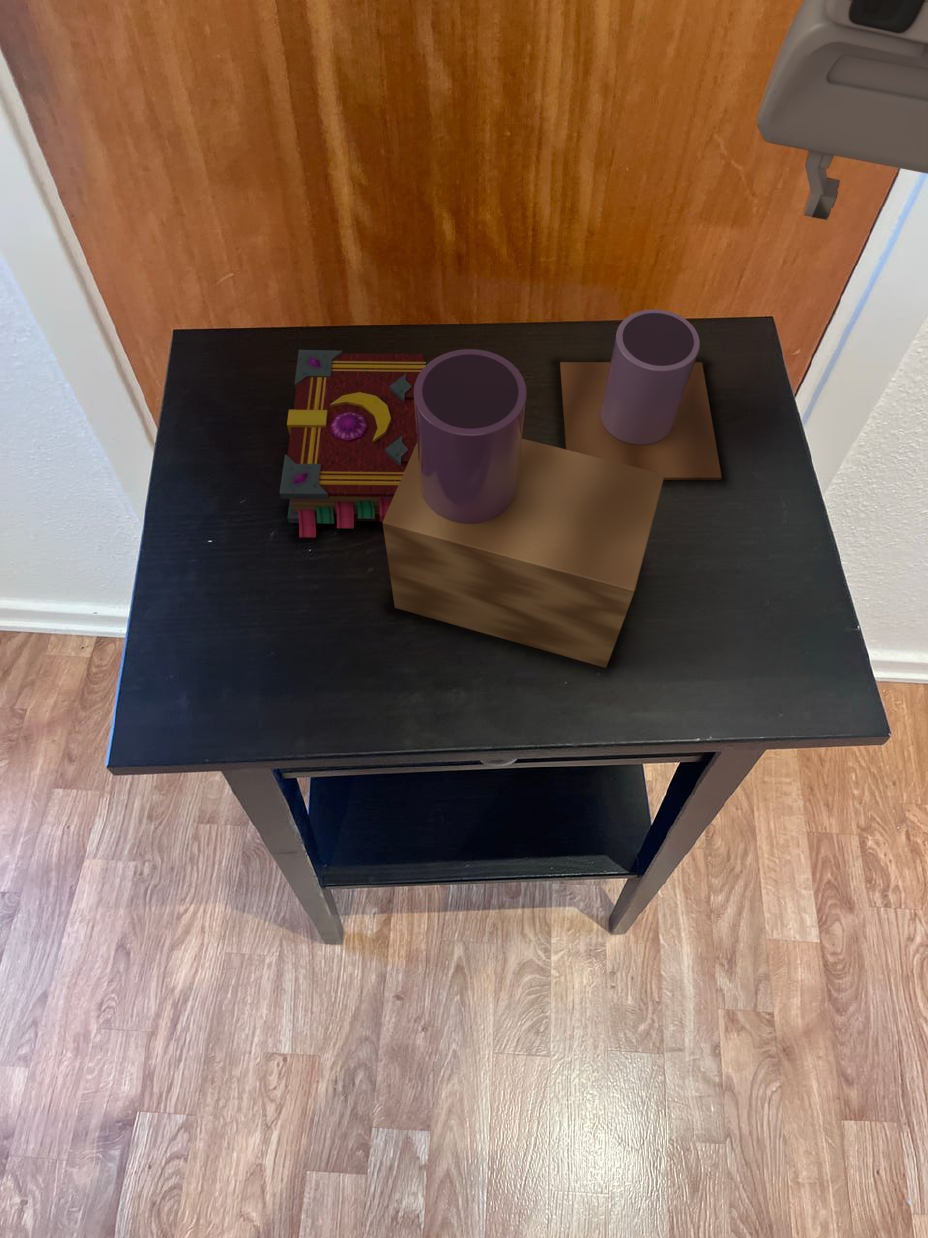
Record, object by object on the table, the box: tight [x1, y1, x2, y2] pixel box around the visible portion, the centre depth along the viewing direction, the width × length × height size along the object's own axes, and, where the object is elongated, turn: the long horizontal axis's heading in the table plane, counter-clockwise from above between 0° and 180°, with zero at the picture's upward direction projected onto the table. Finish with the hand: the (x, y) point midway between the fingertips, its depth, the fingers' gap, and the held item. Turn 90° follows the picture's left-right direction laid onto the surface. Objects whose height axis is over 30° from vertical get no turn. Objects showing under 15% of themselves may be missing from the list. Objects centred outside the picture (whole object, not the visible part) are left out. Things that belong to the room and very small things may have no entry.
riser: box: [382, 438, 665, 669], centre depth 63 cm, size 17×10×12 cm, turn 72°
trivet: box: [559, 361, 722, 481], centre depth 76 cm, size 13×13×1 cm
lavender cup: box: [600, 308, 701, 445], centre depth 72 cm, size 7×7×9 cm
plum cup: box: [414, 348, 528, 524], centre depth 54 cm, size 7×7×9 cm
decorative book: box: [279, 349, 428, 538], centre depth 72 cm, size 11×16×5 cm
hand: (892, 227), depth 54 cm, fingers open, 8 cm apart
